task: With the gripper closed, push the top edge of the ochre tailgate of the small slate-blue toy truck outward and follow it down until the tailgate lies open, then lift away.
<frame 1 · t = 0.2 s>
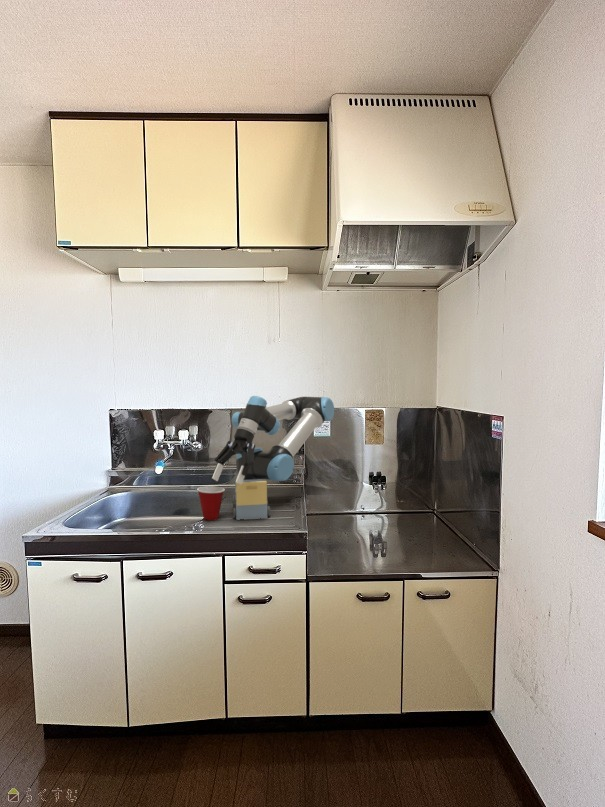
hand: (226, 481, 180), 15 cm above the countertop, tool tilted 35°, fingers open, 13 cm apart
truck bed: (251, 513, 190), on the countertop
tailgate: (251, 493, 181), point 10 cm above the countertop, hinge at 5.0°
plastic cup: (211, 518, 185), on the countertop
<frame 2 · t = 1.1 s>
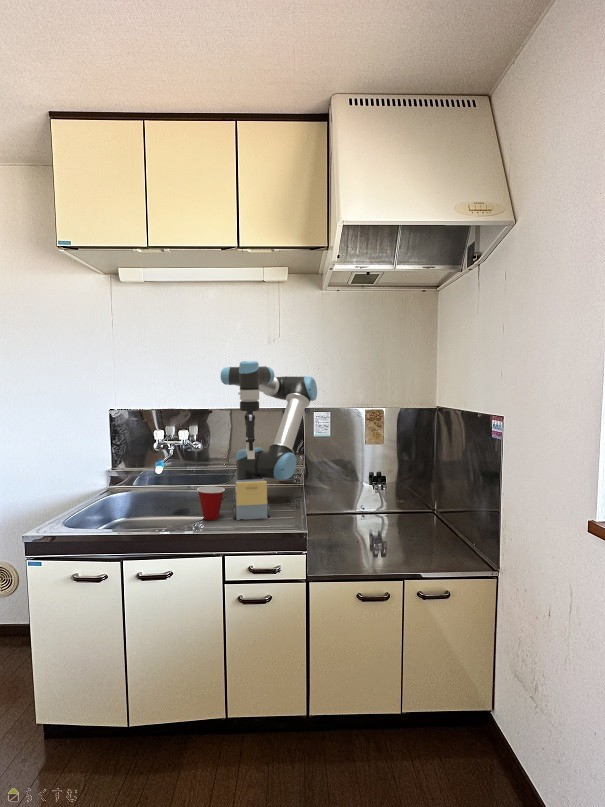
hand: (250, 456, 185), 24 cm above the countertop, tool pointing down, fingers open, 11 cm apart
nothing on the countertop moved.
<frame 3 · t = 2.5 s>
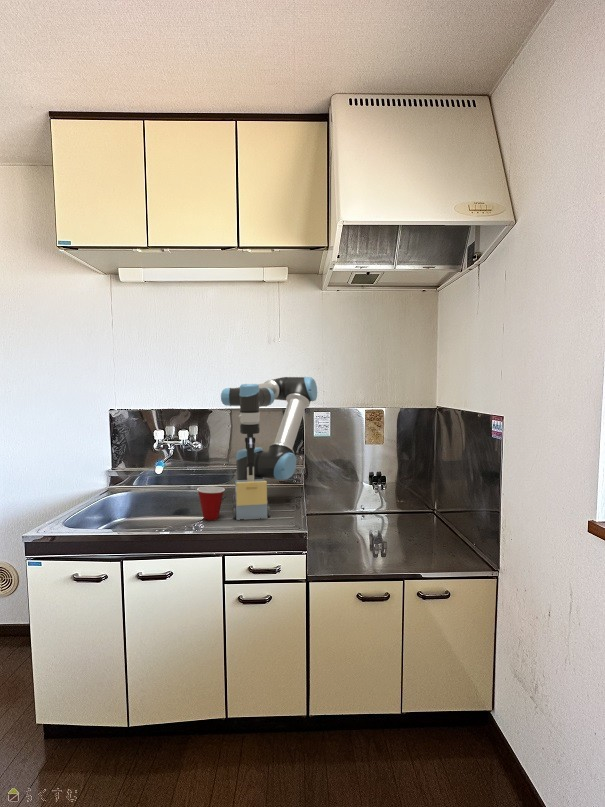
hand: (250, 482, 186), 14 cm above the countertop, tool pointing down, fingers closed
nothing on the countertop moved.
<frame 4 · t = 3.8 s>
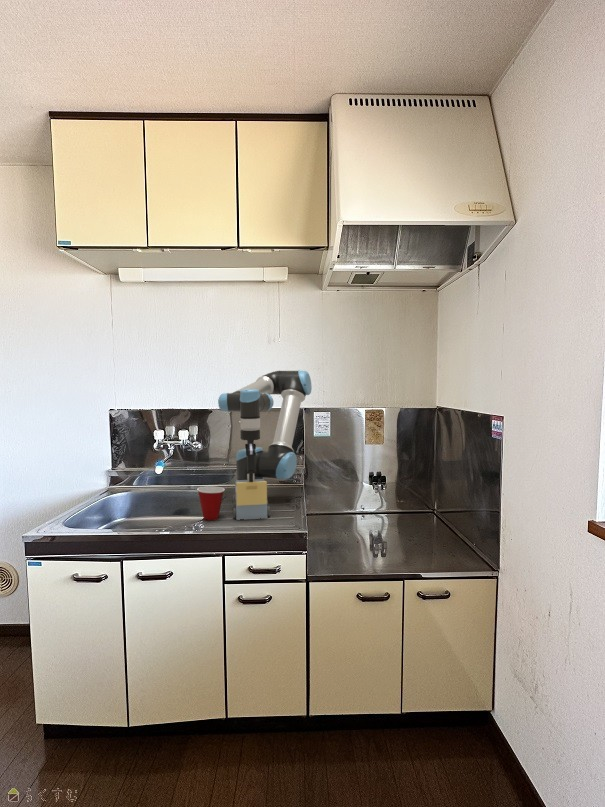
hand: (251, 489, 183), 12 cm above the countertop, tool pointing down, fingers closed
tailgate: (251, 493, 181), point 10 cm above the countertop, hinge at 5.3°, touching gripper
everything else where it was.
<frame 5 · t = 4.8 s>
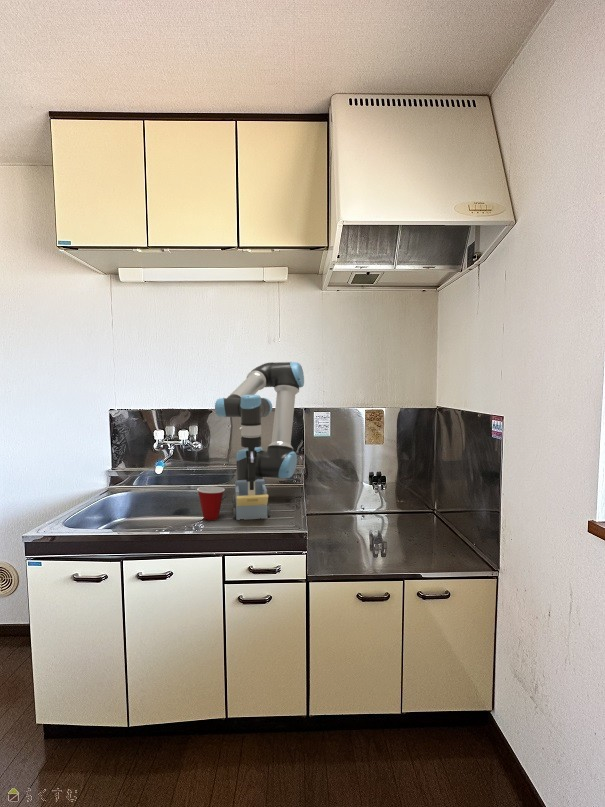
hand: (251, 497, 178), 10 cm above the countertop, tool pointing down, fingers closed
tailgate: (252, 501, 178), point 8 cm above the countertop, hinge at 55.6°, touching gripper
everything else where it was.
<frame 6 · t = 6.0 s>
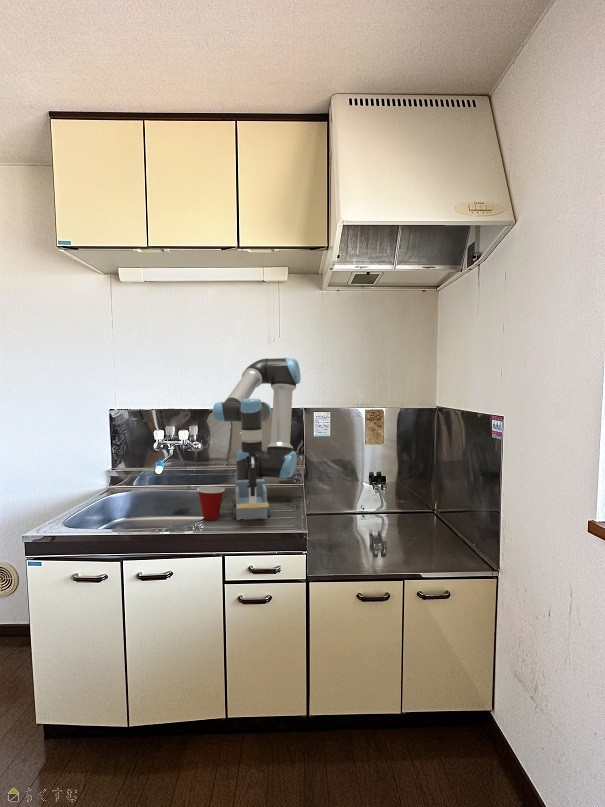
hand: (252, 503, 174), 8 cm above the countertop, tool pointing down, fingers closed
tailgate: (252, 506, 178), point 7 cm above the countertop, hinge at 78.5°, touching gripper
everything else where it was.
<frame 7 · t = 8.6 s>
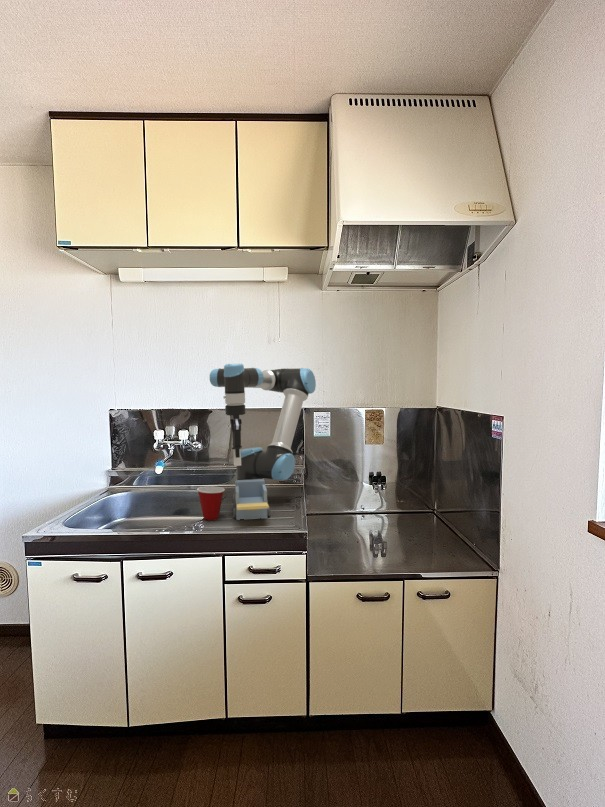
hand: (237, 465, 181), 21 cm above the countertop, tool pointing down, fingers closed
tailgate: (252, 506, 178), point 6 cm above the countertop, hinge at 81.9°
everything else where it was.
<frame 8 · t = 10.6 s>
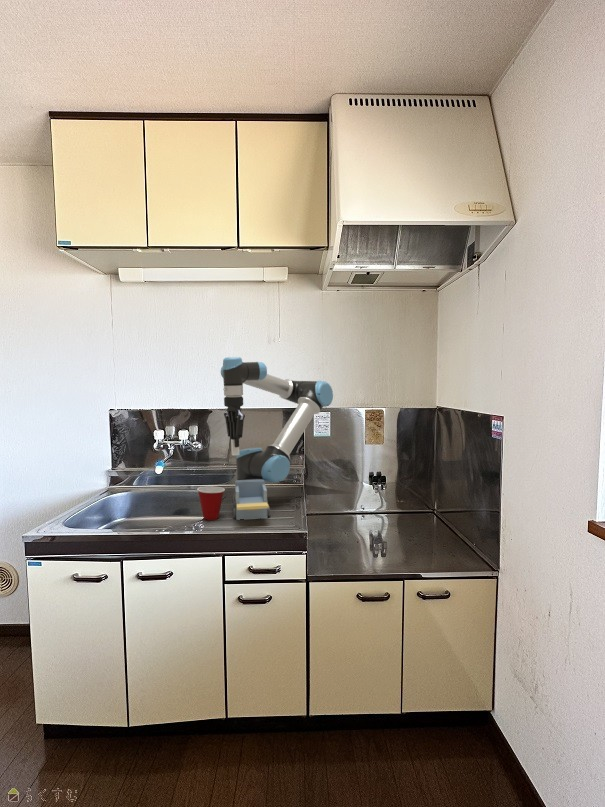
hand: (235, 454, 188), 24 cm above the countertop, tool pointing down, fingers closed
nothing on the countertop moved.
at the end: tailgate at +82° (first picture: +5°); tailgate touching nothing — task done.
